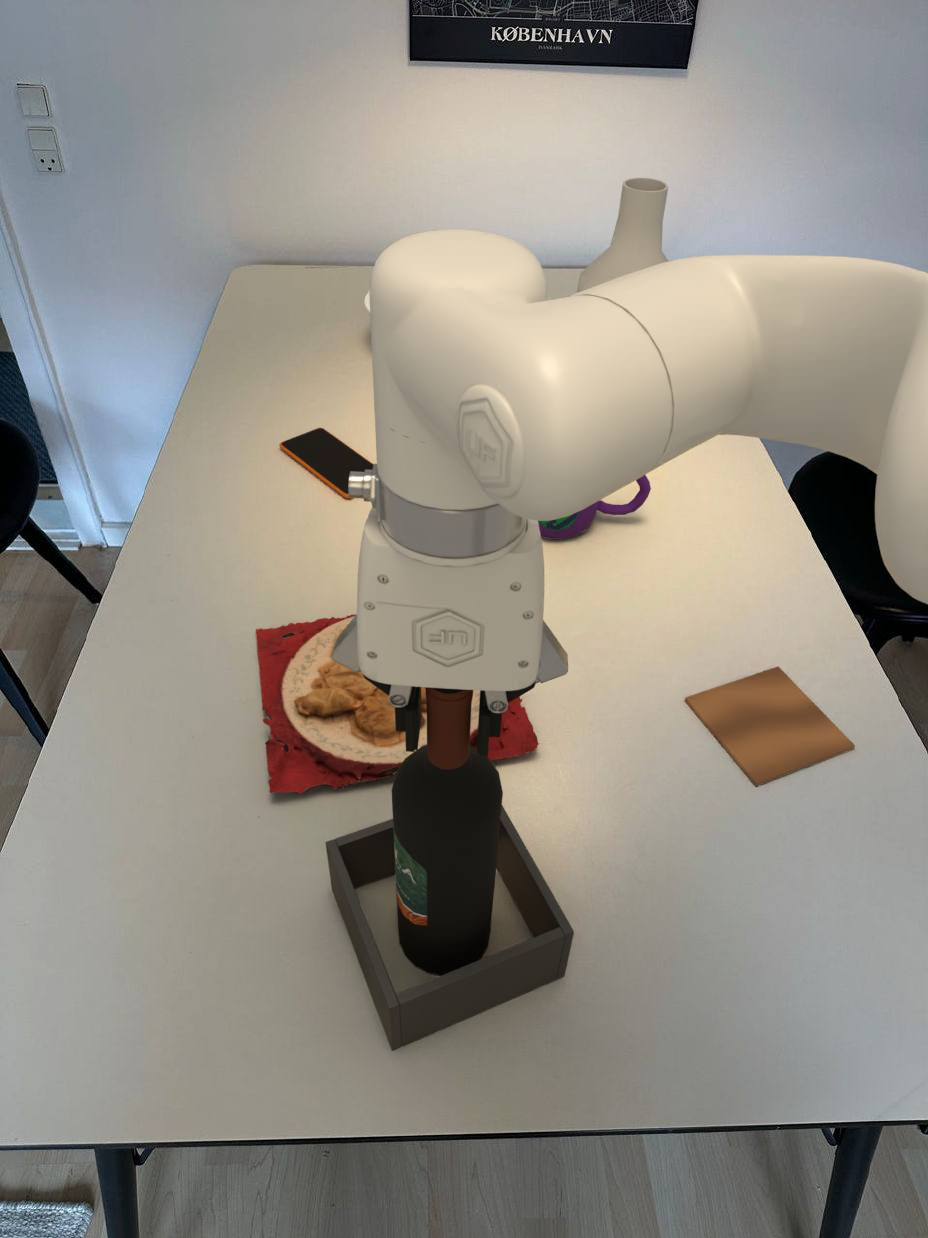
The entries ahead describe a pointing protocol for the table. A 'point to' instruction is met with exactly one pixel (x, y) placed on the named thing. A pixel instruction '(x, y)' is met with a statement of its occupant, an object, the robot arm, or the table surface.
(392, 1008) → the grey square tray frame
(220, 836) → the table surface
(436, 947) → the wine bottle
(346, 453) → the smartphone
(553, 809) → the table surface
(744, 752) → the cork mat
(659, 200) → the vase
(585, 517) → the mug
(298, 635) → the plate with food
